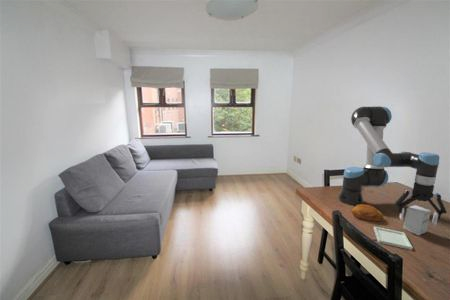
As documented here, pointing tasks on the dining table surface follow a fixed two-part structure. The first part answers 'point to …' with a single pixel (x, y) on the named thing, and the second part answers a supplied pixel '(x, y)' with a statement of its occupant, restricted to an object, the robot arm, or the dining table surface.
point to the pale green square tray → (392, 238)
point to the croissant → (367, 212)
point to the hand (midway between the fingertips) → (417, 221)
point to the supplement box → (417, 219)
